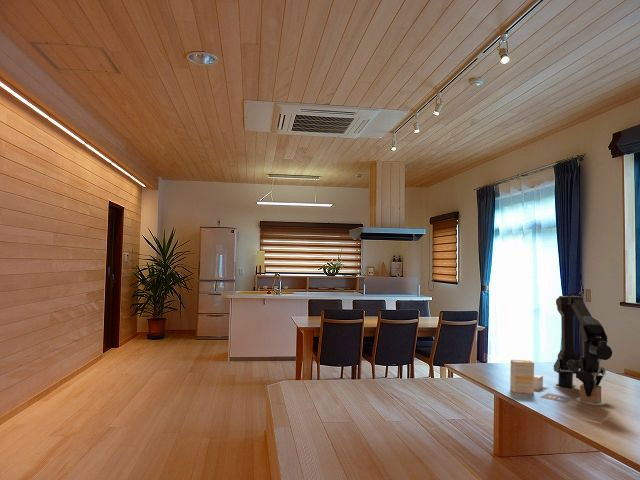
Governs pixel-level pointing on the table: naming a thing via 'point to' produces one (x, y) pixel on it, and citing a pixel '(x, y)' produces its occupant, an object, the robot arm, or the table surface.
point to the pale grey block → (538, 382)
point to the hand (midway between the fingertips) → (590, 394)
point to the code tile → (556, 398)
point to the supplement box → (522, 376)
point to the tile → (542, 389)
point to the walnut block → (594, 396)
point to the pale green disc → (591, 403)
